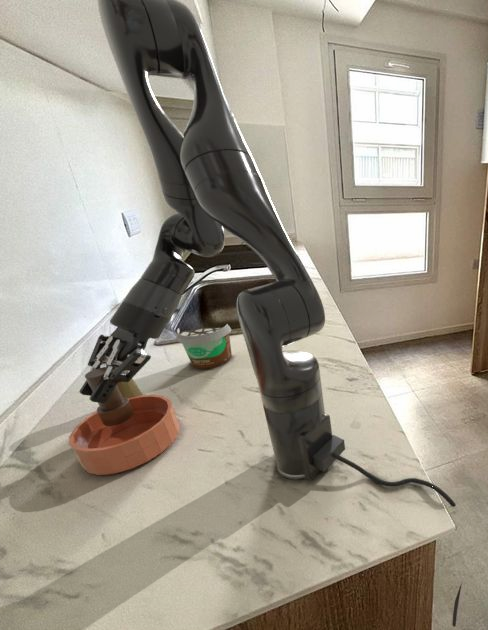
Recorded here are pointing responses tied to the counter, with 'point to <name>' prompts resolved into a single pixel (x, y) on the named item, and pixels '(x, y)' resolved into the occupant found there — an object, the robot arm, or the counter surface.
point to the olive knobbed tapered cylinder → (129, 388)
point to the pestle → (110, 401)
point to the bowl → (125, 437)
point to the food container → (206, 346)
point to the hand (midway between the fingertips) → (92, 397)
